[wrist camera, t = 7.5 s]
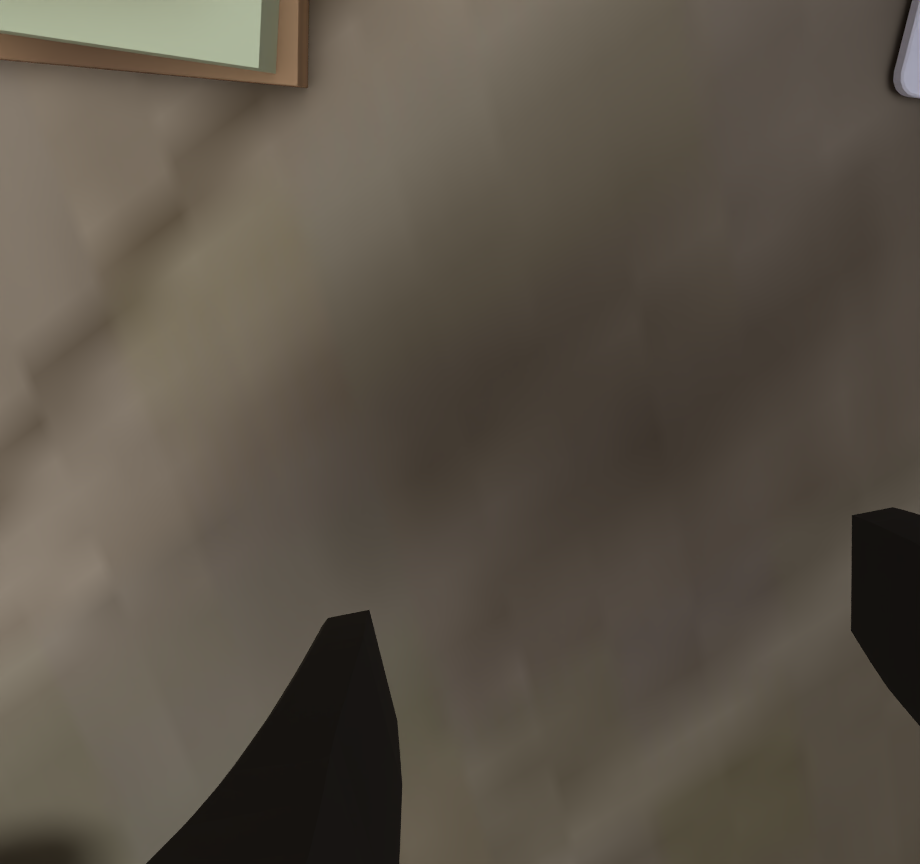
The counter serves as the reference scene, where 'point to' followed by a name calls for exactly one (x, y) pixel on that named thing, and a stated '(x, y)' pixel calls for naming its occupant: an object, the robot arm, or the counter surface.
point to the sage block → (156, 27)
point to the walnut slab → (287, 62)
